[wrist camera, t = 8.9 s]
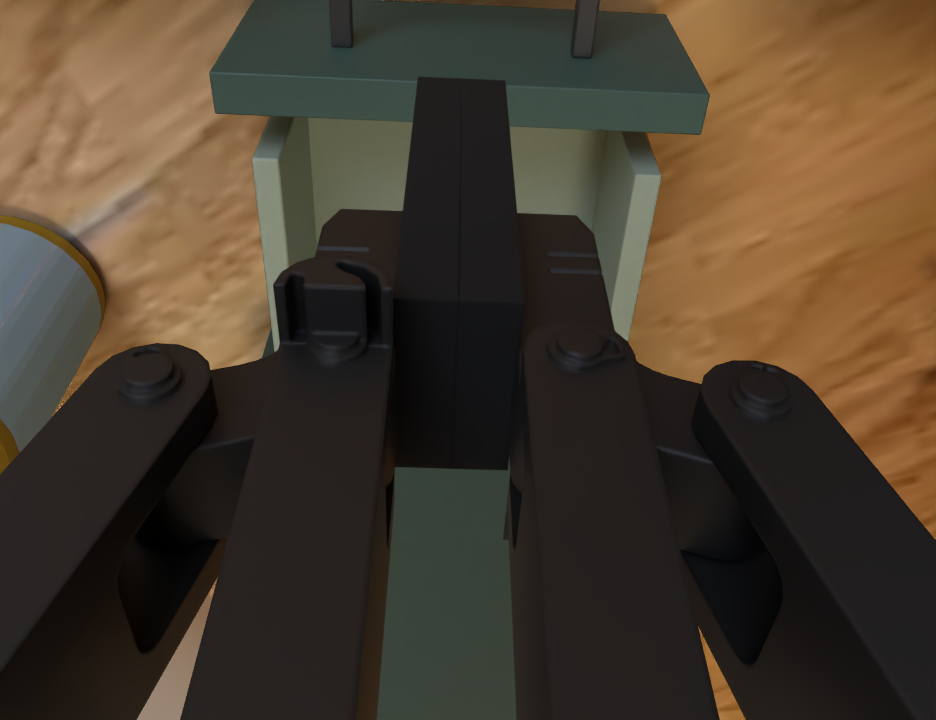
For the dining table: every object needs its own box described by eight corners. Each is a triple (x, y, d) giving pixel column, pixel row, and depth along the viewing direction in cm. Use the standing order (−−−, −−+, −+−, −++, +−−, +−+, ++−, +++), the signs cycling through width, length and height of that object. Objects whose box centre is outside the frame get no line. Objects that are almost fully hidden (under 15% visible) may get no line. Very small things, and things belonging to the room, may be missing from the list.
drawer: (236, -203, 25) (174, -165, 20) (701, -178, 26) (762, -134, 20) (297, 396, 40) (270, 511, 35) (594, 406, 40) (613, 521, 35)
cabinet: (278, 300, 38) (236, 443, 31) (619, 313, 38) (653, 457, 31) (308, 573, 50) (282, 721, 43) (568, 580, 50) (584, 728, 43)
